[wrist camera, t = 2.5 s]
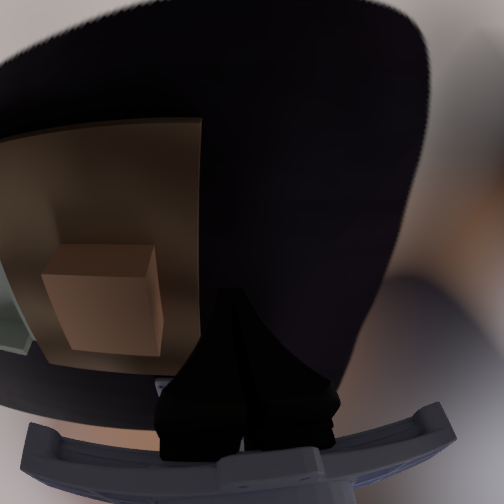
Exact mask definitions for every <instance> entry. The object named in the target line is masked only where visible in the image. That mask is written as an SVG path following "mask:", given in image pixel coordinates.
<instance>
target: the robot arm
mask: <svg viewBox="0 0 504 504" xmlns="http://www.w3.org/2000/svg"><path fill="white" fill-rule="evenodd" d="M155 386H156V389H157V392H158V395H159V399H158V401H157V404H156V408H155V413H154V428H155V430H156V432H157V434H158V436H159V438H160V451H148V450H138V449H129V448H121V447H114V446H107V445H101V444H95V443H89V442H84V441H80V440H75V439H70V438H66V437H62V436H61V435H60V434H59V433H58V432H57V431H56V430H54V429H52V428H50V427H46V426H43V425H39V424H36V423H32V422H31V423H29V427H28V431H27V436H26V440H25V445H24V449H23V455H22V459H21V465H20V469H21V470H22V471H23V472H25V473H26V474H28V475H30V476H31V477H33V478H35V479H37V480H38V481H40V482H42V483H44V484H46V485H48V486H50V487H54V488H57V489H60V490H63V491H66V492H70V493H73V494H77V495H80V496H84V497H88V498H91V499H95V500H100V501H104V502H108V503H113V504H357V502H356V499H355V495H354V492H353V490H356V489H358V488H361V487H364V486H367V485H370V484H372V483H375V482H378V481H381V480H383V479H385V478H388V477H390V476H393V475H395V474H398V473H400V472H402V471H404V470H407V469H409V468H411V467H413V466H416V465H418V464H420V463H422V462H424V461H426V460H428V459H430V458H432V457H433V456H435V455H436V454H438V453H439V452H440V451H442V450H443V449H445V448H446V447H448V446H449V445H450V444H452V443H453V442H454V441H456V439H457V437H456V435H455V433H454V431H453V429H452V427H451V424H450V422H449V420H448V418H447V416H446V414H445V412H444V410H443V408H442V406H441V404H440V402H435V403H433V404H430V405H427V406H425V407H423V408H421V409H419V410H418V411H417V412H416V413H415V414H414V415H413V416H412V417H409V418H407V419H404V420H401V421H398V422H395V423H392V424H388V425H385V426H382V427H379V428H375V429H371V430H368V431H364V432H360V433H357V434H352V435H348V436H343V437H339V438H334V434H333V431H332V428H333V421H332V417H333V416H334V415H335V413H336V412H337V410H338V409H339V407H340V405H341V404H340V399H339V396H338V394H337V392H336V390H335V388H334V386H333V384H332V382H331V381H329V380H328V379H326V378H324V377H323V376H321V375H320V374H318V373H316V372H315V371H313V370H312V369H311V368H309V367H308V366H306V365H305V364H304V363H303V362H302V361H300V360H299V359H298V358H297V357H296V356H295V355H293V354H292V353H291V352H290V351H289V350H288V349H287V348H286V347H285V346H284V345H283V344H282V343H281V342H280V341H279V340H278V338H277V337H276V336H275V335H274V334H273V333H272V331H271V330H270V329H269V327H268V326H267V325H266V323H265V322H264V321H263V319H262V318H261V316H260V315H259V313H258V312H257V310H256V308H255V307H254V305H253V303H252V302H251V300H250V298H249V296H248V294H247V292H246V290H245V289H244V288H217V289H215V297H214V302H213V306H212V309H211V312H210V315H209V318H208V321H207V323H206V325H205V328H204V330H203V332H202V334H201V337H200V339H199V340H198V342H197V344H196V346H195V348H194V349H193V351H192V353H191V354H190V356H189V357H188V359H187V360H186V362H185V363H184V365H183V366H182V367H181V369H180V370H179V371H178V373H177V374H176V375H175V376H174V378H163V377H159V378H156V379H155Z"/></svg>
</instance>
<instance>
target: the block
mask: <svg viewBox="0 0 504 504" xmlns="http://www.w3.org/2000/svg"><path fill="white" fill-rule="evenodd" d="M41 276H42V279H43V282H44V285H45V288H46V290H47V293H48V296H49V298H50V301H51V303H52V306H53V308H54V311H55V313H56V315H57V318H58V320H59V322H60V325H61V327H62V329H63V331H64V333H65V336H66V338H67V340H68V342H69V344H70V346H71V348H72V349H73V350H82V351H91V352H101V353H112V354H125V355H140V356H160V350H161V341H162V332H163V324H164V319H163V313H162V306H161V298H160V291H159V283H158V274H157V265H156V255H155V245H148V244H61V245H60V246H59V248H58V249H57V251H56V252H55V254H54V255H53V256H52V258H51V259H50V261H49V262H48V264H47V265H46V267H45V268H44V270H43V271H42V273H41Z"/></svg>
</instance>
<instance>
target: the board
mask: <svg viewBox="0 0 504 504" xmlns="http://www.w3.org/2000/svg"><path fill="white" fill-rule="evenodd" d="M201 128H202V117H165V118H139V119H123V120H110V121H100V122H90V123H82V124H74V125H67V126H60V127H54V128H48V129H42V130H37V131H32V132H27V133H22V134H17V135H13V136H8V137H4V138H0V261H1V264H2V266H3V269H4V272H5V274H6V277H7V279H8V282H9V284H10V287H11V289H12V291H13V294H14V296H15V298H16V301H17V303H18V305H19V307H20V309H21V311H22V313H23V316H24V318H25V320H26V322H27V324H28V326H29V328H30V329H31V331H32V333H33V335H34V337H35V339H36V341H37V343H38V344H39V346H40V348H41V350H42V351H43V353H44V355H45V357H46V358H47V360H48V362H49V363H50V364H56V365H62V366H69V367H76V368H83V369H91V370H100V371H109V372H120V373H132V374H148V375H170V376H175V375H176V374H177V373H178V371H179V370H180V369H181V367H182V366H183V365H184V363H185V362H186V360H187V359H188V357H189V356H190V354H191V353H192V351H193V349H194V348H195V346H196V344H197V342H198V340H199V339H200V337H201V333H200V305H199V177H200V149H201ZM61 244H148V245H155V255H156V265H157V274H158V283H159V291H160V298H161V306H162V313H163V319H164V324H163V332H162V341H161V350H160V356H140V355H125V354H112V353H101V352H91V351H82V350H73V349H72V348H71V346H70V344H69V342H68V340H67V338H66V336H65V333H64V331H63V329H62V327H61V325H60V322H59V320H58V318H57V315H56V313H55V311H54V308H53V306H52V303H51V301H50V298H49V296H48V293H47V290H46V288H45V285H44V282H43V279H42V276H41V273H42V271H43V270H44V268H45V267H46V265H47V264H48V262H49V261H50V259H51V258H52V256H53V255H54V254H55V252H56V251H57V249H58V248H59V246H60V245H61Z"/></svg>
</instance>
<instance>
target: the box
mask: <svg viewBox="0 0 504 504" xmlns="http://www.w3.org/2000/svg"><path fill="white" fill-rule="evenodd" d="M33 340H35V341H36V339H35V337H34V335H33V333H32V331H31V329H30V328H29V326H28V324H27V322H26V320H25V318H24V316H23V313H22V311H21V309H20V307H19V305H18V303H17V301H16V298H15V296H14V294H13V291H12V289H11V287H10V284H9V282H8V279H7V277H6V274H5V272H4V269H3V266H2V264H1V261H0V349H1V350H5V351H9V352H14V353H18V354H23V355H27V352H28V350H29V348H30V345H31V343H32V341H33Z"/></svg>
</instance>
